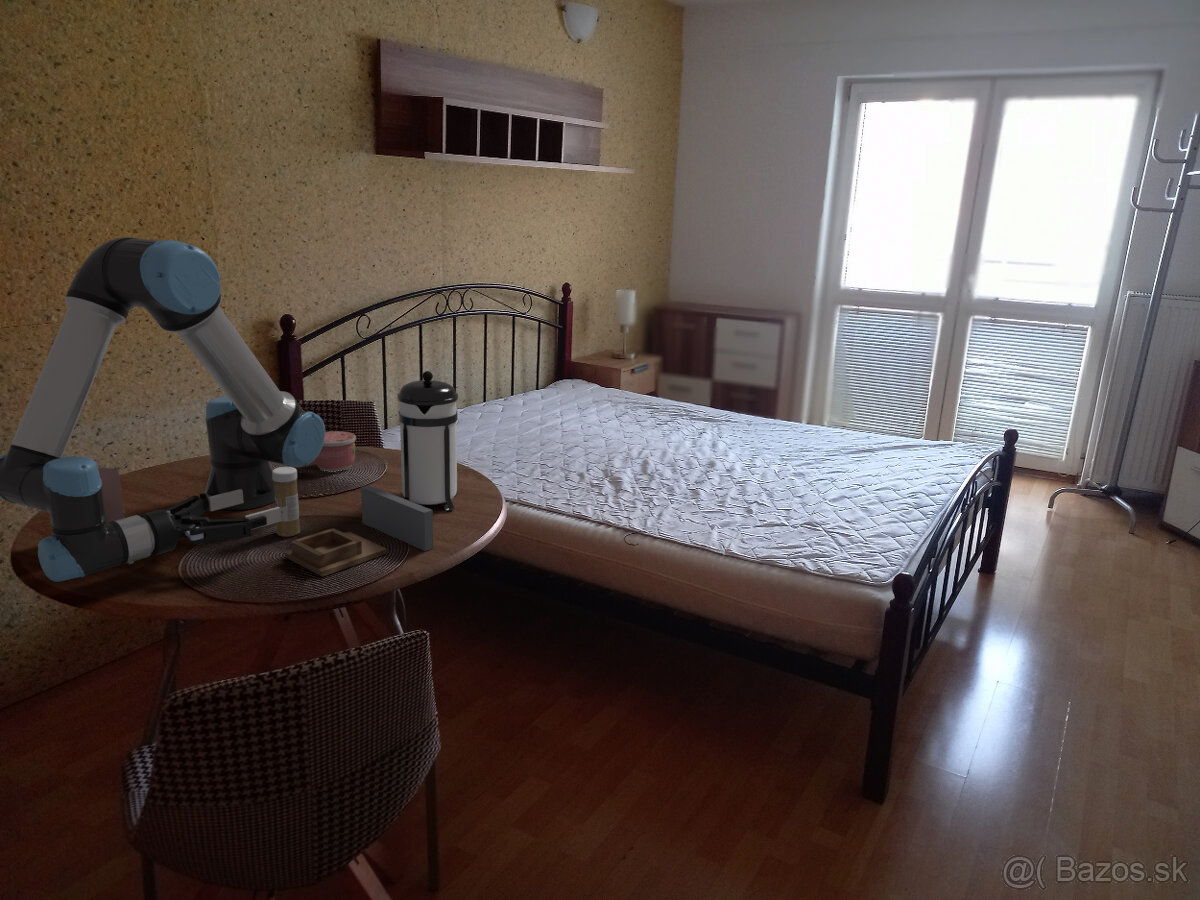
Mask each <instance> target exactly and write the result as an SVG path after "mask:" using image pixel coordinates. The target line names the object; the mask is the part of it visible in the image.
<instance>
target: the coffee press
mask: <svg viewBox="0 0 1200 900" xmlns="http://www.w3.org/2000/svg"><path fill="white" fill-rule="evenodd" d="M421 377H422V379H423V380H415V381H414V380H413V381H410V382H408V383H406V384H404V385H403V386H402V387H401V388H400V391H399V393H398V394H397V401H398V403H399V410H398V422H399V427H400V428H399V429H400V431H399V433H400V465H401V490H402V491H401V492H402V496H403V499H406V500H408V501H411V502H413V503H416V504H418V505H430V506H432V505H438V504H440V505H441V506H443V508H444V511H445V512H450V511H453V510H454V509H455V507H454V504H453V502H452V500H453V499H454V496H455V495H456V496H458V471H457V469H458V468H457V467H458V465H457V464H458V460H457V459H458V457H457V455H458V454H457V453H458V452H457V451H458V450H457V448H458V447H457V446H458V445H457V442H458V441H457V439H458V438H457V422H458V410H457V401H458V399H459V394H458V393H457V392H456V390H455V388H454V386H452V385H451V384H450V383H447V382H444V381H441V380H433V378H434V375H433V373H432V372H431V371H430V370H425V371H424V372H423V373H422V375H421ZM456 496H455V497H456Z"/></svg>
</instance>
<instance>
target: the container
mask: <svg viewBox="0 0 1200 900" xmlns="http://www.w3.org/2000/svg"><path fill="white" fill-rule="evenodd" d="M356 438H357V436H356V435H355V434H354V433H352V432H347V431H340V430H339V431H338V430H337V431H335V430H334V431H332V430H331V431H325V438H324V444H323V447H322V449H321V451H320V453H319V455H318V456H317V458H316V459H315V460H314V461H313V462H314V463H315V466H316V467H318V469H319V468H320V469H322V470H329V471H336V470H337V471H338V470H344V469H348V468H349V467H351V468H352V465H353V464H354V462H355V459H356V443H355V442H356V440H357V439H356Z"/></svg>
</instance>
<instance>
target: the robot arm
mask: <svg viewBox="0 0 1200 900" xmlns="http://www.w3.org/2000/svg"><path fill="white" fill-rule="evenodd" d="M220 275H221V274H220V272H219V269H218V267H217V265H216V263H215V262H214V260H213V259H212V258H211V256H210V255H209V254H208V253H206V252H205V251H204V250H202V249H201V248H199V247H197V246H195V245H193V244H189V243H185V242H182V241H177V240H171V239H168V240H159V239H148V238H147V239H146V238H145V239H144V238H135V237H129V236H128V237H126V236H125V237H117V238H114V239H110V240H108V241H106V242H104V243H102V244H101V245H100V246H98V247H97V248H95V249H94V250H93V251H92V252H91V253H90V254H89V255H88V257H87V258H86V259H85V260H84V262H83V263H82V264H81V266H80V268H79V269H78V271H76V274H75V275H74V277H73V279H72V281H71V283H70V285H69V288H68V290H67V292H66V295H65V297H64V299H63V301H64V302H65V304H66V307H67V311H66V312H65V314H64V317H63V320H62V322H61V324H60V326H59V329H58V332H57V334H56V336H55V338H54V341H53V344H52V346H51V348H50V350H49V352H48V353H49V354H47V358H46V359H45V362H44V364H43V367H42V369H41V372H40V374H39V377H38V379H37V381H36V384H35V386H34V389H33V390H32V393H31V396H30V398H29V401H28V403H27V405H26V408H25V409H24V412H23V414H22V417H21V420H20V422H19V424H18V427H17V429H16V432H15V434H14V437H13V439H12V441H11V444H10V446H9V448H8V451H7V453H6V454H2V455H0V499H2V500H4V501H6V502H8V503H10V504H18V505H22V506H26V507H29V508H33V509H37V510H40V511H43V512H45V513H49V519H50V525H51V531H52V532H51V533H52V534H51V535H49V536H47V537H45V538H42V539H40V540H39V541H38V543H37V549H38V550H37V556H38V560H39V563H40V567H41V569H42V571H43V573H44V575H45V577H47V578H48V579H49V580H50V581H53V582H55V583H57V582H65V581H68V580H69V581H70V580H73V579H76V578H77V579H78V578H84V577H85V576H88V575H91V574H94V573H97V572H98V573H99V572H102V571H104V570H105V571H106V570H109V569H112V568H114V567H115V568H116V567H117V566H122V565H125V564H128V565H132V564H134V562H136V561H139V560H142V559H146V558H149V557H150V556H157V555H161V554H164V553H167V552H168V553H169V552H172V551H173V550H175V549H176V547H177V544H178V543H179V541H180V540H190V544H191V545H198V544H202V543H205V542H206V543H207V542H216V541H224V540H225V541H226V540H234V539H242V538H249V537H250V538H251V537H252V536H253V533H252V531H253V530H256V529H259V528H263V527H266V526H269V525H275V524H277V522H281V511H280V508H279V507H276V508H275V507H272V508H269V509H265V510H260V511H258V512H255V513H250V514H247V515H245V516H244V518H243V517H242V518H241V517H240V518H209V517H207V516H202V515H203V514H204V513H206V512H207V511H208V510H209V511H210V512H214V511H218V510H224V511H225V510H226V511H227V510H229V511H239V510H249V509H255V508H259V507H264V506H267V505H269V504H270V505H271V503H275V491H274V482H273V479H272V471H273V469H272V467H271V464H270V463H276V464H280V465H284V466H285V467H294V468H295V467H296V468H302V467H306V466H308V465H310V464H312V463H313V462H315V461H314V460H315V459H316V458H317V456H318V455H319V453H320V451H321V449H322V447H323V444H324V438H325V432H326V427H325V423H324V420H323V418H322V417H320V415H319V414H316V413H314V412H313V411H305V410H304V409H303V408H302V407H301V405H300V404H299V403H298V401H297V399H295V397H294V396H293V395H292V394H291V393H290V392H287V391H281V390H280V389H279V388H278V386H277V385H276V383H275V382H274V381H273V379H272V378H271V377H270V375H269V374H268V372H267V371H266V370H265V368H264V367H263V366H262V365H261V363H260V361H259V360H258V358H257V357H256V356H255V354H254V353H253V352H252V350H251V349H250V347H249V346H248V344H247V343H246V342H245V341H244V339H243V338H242V336H241V335H240V333H239V332H238V331H237V329H236V328H235V327H234V326H233V325H234V324H232V322H231V321H230V320H229V318H228V317H227V316H226V314H225V313H224V312H223V310H222V308H221V305H222V300H223V296H222V294H221V289H222V285H221V284H220V283H219V282H220V281H219V280H221V276H220ZM134 307H136V308H137V307H138V308H142V309H143V308H144V309H145V310H146V311H147V312H148V313H149V314H150V316H151V317H152V318H153V319H154V321H156V323H157V325H158V326H159V327H160V328H161V329H162V330H163V331H166V332H168V333H177V335H178V336H179V337H180V339H181V340H182V341H183V343H184V344H185V345H186V346H187V348H189V350H190V352H192V354H193V355H194V357H195V358H196V359H197V360H198V362H199V363H200V364H201V365H202V366H203V368H204V369H205V370H206V372H207V373H208V374H209V375H210V377H211V378H212V379H213V380H214V381H215V382H216V385H217V386H218V387H219V388H220V389H221V391H223V393H224V394H225V396H220V397H217V398H214V399H212V400H209V401H208V402H207V404H206V406H205V423H206V433H207V434H206V435H207V440H208V441H207V442H208V449H209V458H210V472H209V475H208V479H207V483H206V487H205V491H204V493H199V495H192V496H190V497H187V498H186V499H184V500H182V501H180V502H178V503H176V504H174V505H172V506H169V507H167V508H165V509H164V508H163V509H157V510H153V511H148V512H144V513H142V514H141V515H137V514H135V515H131V516H127V517H125V518H123V519H120V520H116V521H112V522H108V523H106V518H105V512H104V503H103V493H102V481H101V479H100V476H99V471H98V466H99V465H98V463H97V462H96V461H95V460H94V459H93V458H91V457H88V456H77V455H72V456H65V457H64V454H65V453H66V452H65V451H66V449H67V448H68V445H69V442H70V440H71V437H72V434H73V432H74V430H75V427H76V425H77V422H78V420H79V418H80V415H81V413H82V410H83V408H84V405H85V403H86V401H87V398H88V396H89V393H90V391H91V389H92V386H93V383H94V381H95V378H96V376H97V374H98V372H99V368H100V367H101V364H102V361H103V359H104V357H105V354H106V351H107V349H108V346H109V345H110V342H111V339H112V338H113V335H114V333H115V329H116V327H118V325H121V324H124V323H125V322H126V320H127V318H128V316H129V313H130V312H131V311H132V309H133V308H134Z"/></svg>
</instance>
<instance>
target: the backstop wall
mask: <svg viewBox="0 0 1200 900" xmlns="http://www.w3.org/2000/svg"><path fill="white" fill-rule="evenodd" d="M360 495H361V497H360V498H361V515H362V516H361V517H362V519H361V521H362V524H363V523H364V524H366V525H365V526H367V525H368V526H367V527H369V526H370V527H369V528H371V527H373V528H375V529H374V530H376V529H377V530H376V531H378V530H379V532H380V531H382V532H381V533H383V532H384V533H383V534H385V533H386V534H385V535H387V534H388V535H387V536H389V535H390V536H389V537H392V538H394V539H396V538H397V539H396V540H398V539H399V541H401V540H402V541H401V542H403V541H404V542H403V543H405V542H406V543H405V544H407V543H408V545H411V547H415V548H416V549H418V550H421V551H424V552H427V551H430V550H433V549H434V524H433V523H434V520H433V519H434V513H433V509H431V508H428V507H425V506H423V505H422V504H417V503H413V502H411V501H408V500H406V499H404V497H400V496H398V495H395V494H393V493H390V492H387V491H385V490H382V489H380V488H377V487H375V486H372V485H370V484H369V485H365V486H362V487H360ZM364 524H363V525H364ZM373 528H372V529H373Z"/></svg>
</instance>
